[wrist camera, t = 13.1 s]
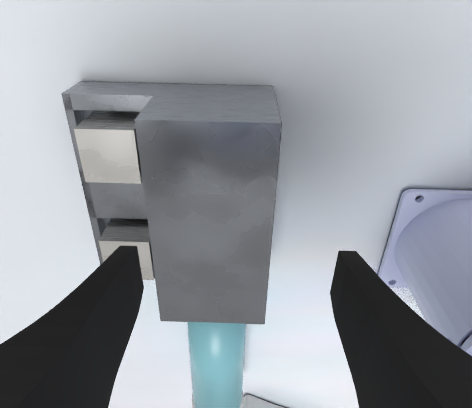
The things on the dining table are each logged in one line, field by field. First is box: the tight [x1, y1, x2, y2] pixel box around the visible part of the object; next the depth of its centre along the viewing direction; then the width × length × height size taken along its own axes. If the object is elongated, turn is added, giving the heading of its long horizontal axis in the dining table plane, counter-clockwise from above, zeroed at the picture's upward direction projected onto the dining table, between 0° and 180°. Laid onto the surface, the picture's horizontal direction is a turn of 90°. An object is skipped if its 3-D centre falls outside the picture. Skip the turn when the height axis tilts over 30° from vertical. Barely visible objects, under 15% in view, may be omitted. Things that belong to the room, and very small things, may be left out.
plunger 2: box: [99, 218, 155, 280], centre depth 23 cm, size 3×3×4 cm
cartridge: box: [188, 322, 245, 408], centre depth 27 cm, size 13×4×4 cm, turn 179°
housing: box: [62, 81, 282, 324], centre depth 21 cm, size 10×12×6 cm
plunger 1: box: [74, 110, 142, 184], centre depth 19 cm, size 3×3×4 cm
